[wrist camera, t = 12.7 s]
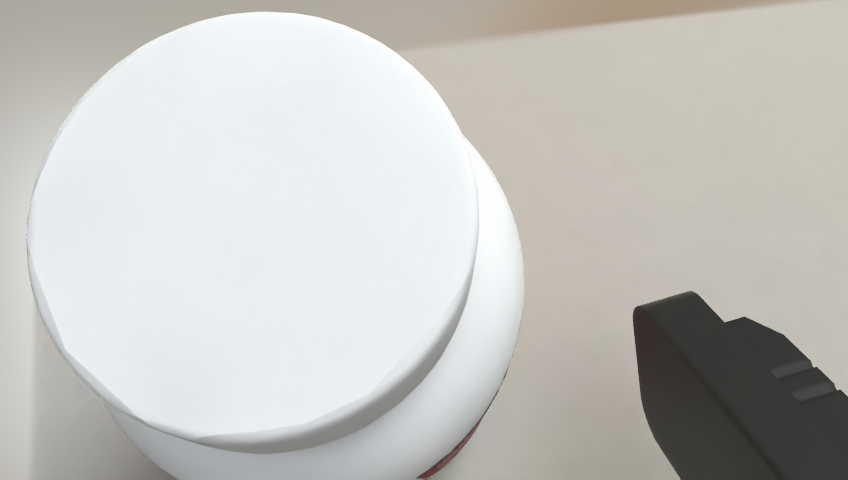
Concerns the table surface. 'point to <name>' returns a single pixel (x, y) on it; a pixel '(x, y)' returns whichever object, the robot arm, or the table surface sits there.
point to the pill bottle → (276, 255)
